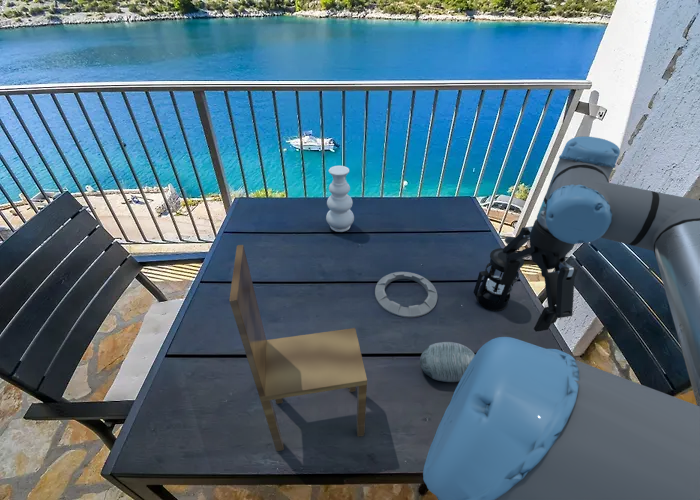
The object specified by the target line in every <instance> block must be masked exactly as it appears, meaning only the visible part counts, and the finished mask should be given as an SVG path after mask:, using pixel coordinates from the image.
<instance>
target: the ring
mask: <svg viewBox="0 0 700 500" xmlns="http://www.w3.org/2000/svg"><path fill="white" fill-rule="evenodd" d="M397 280H410V281H414V282H415V283H417V284H419V285H421V286H422V287H423V288H424V290H425V291H426V294H427V297H426V298H425V300H424V301H423V303H421V304H415V305H408V307H407V306H403V305H401V304H400V303H398V302H396V301H394V300H390V299H389V298H388V295H387V293H386V291H385V290H386V288H387V286H388V285H389V284H390V283H392V282H395V281H397ZM374 296H375V299H376V302H377V303H378V304H379V306H380V307H381V308H382V309H383V310H385V311H386V312H388V313H389V314H392V315H394V316H397V317H402V318H409V319H410V318H418V317H422V316H425V315H427V314H429V313H430V312H431V311H433V309H435V307H436V305H437V302H438V291H437V289H436V287H435V286H434V284H433V283H432V282H431V281H430V280H428V278H425V277H424V276H422V275H420V274H418V273H414V272H410V271H395V272H391V273H389V274H386V275H384V276H383V277H381V278H380V279H379V280H378V281H377V283H376V285H375V289H374Z"/></svg>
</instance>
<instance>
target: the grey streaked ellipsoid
mask: <svg viewBox="0 0 700 500" xmlns="http://www.w3.org/2000/svg"><path fill="white" fill-rule="evenodd" d="M475 355H476V353H474V351H473V350H471V348H469V347H467V346H466V345H464V344H461V343H459V342H453V341H440V342H436V343H432V344H430V345H428V346H427V347H426V348H425V349H423V351H422V353H421V355H420V357H419V364H420V368H421V370H422V371H423V373H424V374H425V375H426V376H427V377H429V378H430V379H433V380H435V381H439V382H445V383H459V382H460V380H461V378H462V376H463V374H464V372H465V371H466V369H467V367H468V365H469V364H470V362H471V361H472V359H473V357H474V356H475Z"/></svg>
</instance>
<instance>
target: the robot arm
mask: <svg viewBox="0 0 700 500" xmlns="http://www.w3.org/2000/svg"><path fill="white" fill-rule="evenodd" d="M620 155H621V149H620V147H619V145H617V144H616V143H614V142H612V141H610V140H608V139H605V138H600V137H596V136H583V135H582V136H576V137H572V138H570V139H569V140H568V141H567V142H566V143H565V145H564V147H563V149H562V151H561V153H560V155H559V156H558V161H557V164H556V167H555V169H554V172H553V174H552V177H551V179H550V182H549V185H548V188H547V190H546V193H545V195H544V197H543V199H542V203H541V206H540V207H539V210H538V212H537V215H536V219H535V220H534V222H533V225H531V226H524V227H522V228H521V229H520V231H519V233H518V234H517V235H516V236H515V237H514V239H513V240H512V241H511V242H510V243H509V244H506V245H505V246H504V247H503V253H506V255H507V256H506V259H507V261H506V264H505V266H504V272H503V273H502V275H501V277H502V278H501V281H500V284H501V285H507V284H512V283H513V280H514V278H515V275H516V273H517V270H518V268H519V265H520V262H519V261H516V260H517V259H521V258H523V259H524V258H527V257H528V258H529V257H531V261H532V262H533V263H535V265H537V267H538V269H540V273H541V277H543V278H544V284H545V285H544V286H545V293H546V300H547V301H546V302H547V306H544V307H543V309H542V311H541V314H540V316H539V317H538V319H537V321H536V323H535V325H534V327H533V330H534V331H535V332H542V331H548V330H549V329H550V327H551V325H552V324H555V323H556V322H557V320H558V319H563V318H569V317H572V316H573V312H574V311H573V310H574V295H575V292H574V291H575V278H576V276H577V274H578V271H579V269H578V267H577V266H576V265H570V264H568V263H567V262H566V256H567V254H569V252H571V251H572V250H573V249H574V248H575V247H574V246H575V245H577V244H579V245H580V244H588V243H592V242H595V241H596V240H597V241H598V240H599V239H600V238H601V239H605V240H609V241H613V242H616V243H621V244H625V245H628V246H632V247H637V248H641V249H645V250H647V251H652V252H653V253H654V257H655V259H656V264H657V266H658V270H659V274H660V277H661V281H662V284H663V288H664V291H665V295H666V299H667V303H668V306H669V311H670V313H671V317H672V320H673V323H674V328H675V332H676V334H677V339H678V342H679V345H680V346H679V347H680V349H681V353H682V357H683V360H684V364H685V367H686V371H687V374H688V378H689V381H690V386H691V389H692V392H693V396H694V400H695V402H696V404H694V403H692V402H689V401H687V400H684V399H681V398H678V397H677V396H676V397H675V396H673V395H670V394H667V393H665V392H662V391H660V390H658V389H654V388H652V387H649V386H646V385H645V384H644V385H643V384H640V383H638V382H635V381H633V380H630V379H627V378H624V377H622V376H619V375H616V374H614V373H611V372H608V371H607V370H606V371H605V370H603V369H600V368H598V367H595V366H593V365H590V364H587V363H584V362H582V361H580V360H577V359H576V358H574V357H573V356H572V355H571V354H569V353H567V352H565V351H563V350H561V349H558V348H545V347H542V346H539V345H535V344H533V343H530V342H527V341H524V340H521V339H519V338H515V337H510V336H498V337H494V338H492V339H490V340H489V341H487V342H485V343H483V344H482V346H480V347H479V349H478V350H477V352H476V353H475V356H474V357H473V359H472V361H471V362H470V364H469V365H468V367H467V369H466V371H465V372H464V374H463V376H462V378H461V380H460V381H458V384H457V385H456V387H455V390H454V392H453V394H452V397H451V400H450V402H449V404H448V405H447V407H446V409H445V411H444V414H443V415H442V417H441V419H440V422H439V424H438V426H437V428H436V431H435V434H434V437H433V440H432V441H431V443H430V447H429V449H428V453H427V456H426V459H425V461H424V466H423V471H422V476H423V478H422V479H423V482H424V484H425V485H426V488H427V490H428V491H429V492H431V494H433V495H434V496H435V497H436V499H437V500H700V199H696V198H690V197H685V196H681V195H680V196H679V195H674V194H670V193H664V192H658V191H653V190H648V189H643V188H639V187H633V186H628V185H623V184H619V183H614V182H613V183H612V182H610V176H611V174H612V172H613V170H614V169H615V168H616V167H617V165H616V164H617V161H618V159H619V157H620ZM528 242H529V247H528V248H524V249H522V250H520V248H522V247H523V246H524V245H525V244H527V243H528ZM518 250H519V251H518ZM515 252H516V253H515ZM553 269H554V271H549V270H553Z"/></svg>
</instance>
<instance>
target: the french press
mask: <svg viewBox="0 0 700 500" xmlns="http://www.w3.org/2000/svg"><path fill="white" fill-rule="evenodd" d="M514 238H515V237H514V236H507V237H505V238H504V242H505V244H506V245H508V244H509V243H510V242H511V241H512V240H513V239H514ZM503 248H504V247H503ZM503 248H502V247H500V248H499V247H498V248H495V249H493V250H492V251H491V252H490V254H489V259H490V260H489V262H488V263H487V265H486V266H485V270H481V271H479V273H478V276H477V279H476V282H475V286H474V289H473V292H472V293H473V295H474V296H475V297H476V298H475V299H476V301H477V303H478V304H479V305H480V306H481V307H483V308H484V309H486V310H488V311H491V312H502V311H504V310H506V309H507V308H508V306H509V301H510V299H511V292H513V287H514V284H516V283H517V282H518V279H519V277H520V272H519V271H520V269H521V268H523V266H524V264H525V259H524V258H521V259H517V260H516V261H519V262H520V265H519V268H518V270H517V273H516V275H515V278H514V280H513V283H512V284H507V285H501V284H500V281H501V278H502V276H503V273H504V266H505V264H506V261H507V259H506V256H507V255H506V253H503ZM516 252H517V251H516ZM516 252H515V253H516ZM489 267H490V269H489V271H488V268H489ZM496 271H499V272H500V274H499V275H495V274H496ZM485 292H488V293H489V294H491V295H494V296H497V297H499V300H498V302H495V301H492V300H489V299H488V298H486V297H485V296H484V293H485Z"/></svg>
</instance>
